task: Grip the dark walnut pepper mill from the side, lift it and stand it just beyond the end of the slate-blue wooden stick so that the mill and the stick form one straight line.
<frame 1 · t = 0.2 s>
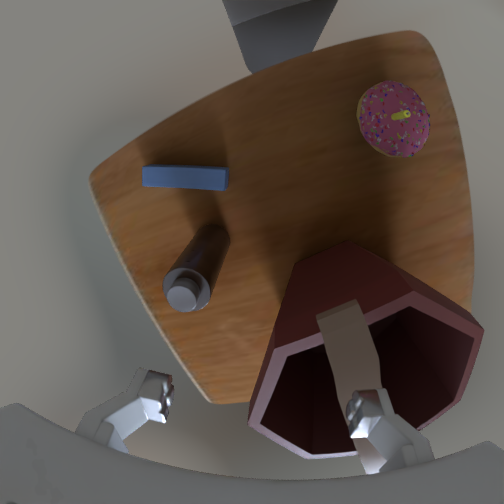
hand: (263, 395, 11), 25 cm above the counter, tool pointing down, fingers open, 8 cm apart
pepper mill: (212, 240, 35), on the counter
bucket: (337, 300, 38), on the counter
cupcake: (380, 121, 28), on the counter
blue stick: (187, 174, 32), on the counter
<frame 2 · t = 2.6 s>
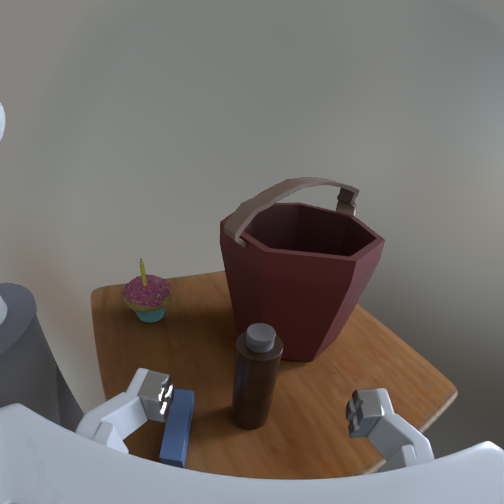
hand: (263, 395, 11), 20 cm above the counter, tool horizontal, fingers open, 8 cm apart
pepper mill: (249, 414, 30), on the counter
bucket: (290, 330, 46), on the counter
cupcake: (150, 315, 47), on the counter
blue stick: (179, 431, 27), on the counter
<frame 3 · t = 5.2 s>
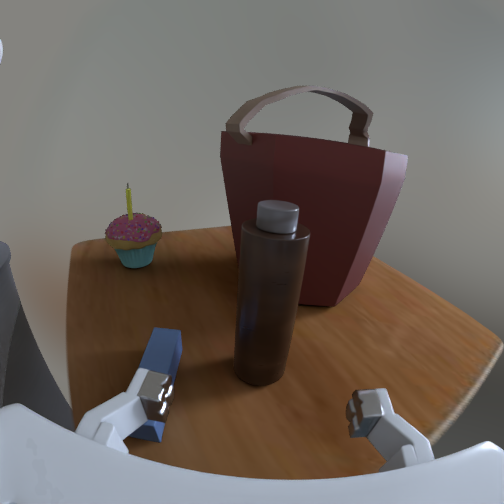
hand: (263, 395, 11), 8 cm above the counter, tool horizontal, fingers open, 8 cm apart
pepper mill: (259, 366, 23), on the counter
bucket: (303, 276, 39), on the counter
cupcake: (136, 262, 39), on the counter
blue stick: (157, 389, 19), on the counter
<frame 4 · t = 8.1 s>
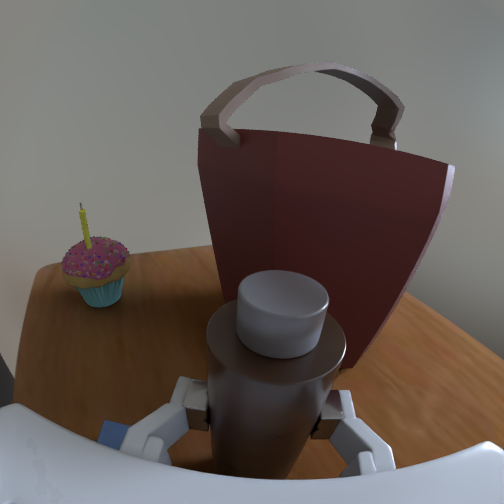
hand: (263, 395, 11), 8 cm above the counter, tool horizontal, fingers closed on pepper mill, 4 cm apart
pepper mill: (249, 473, 13), on the counter, touching gripper
bucket: (311, 319, 30), on the counter
cupcake: (102, 297, 30), on the counter
blue stick: (114, 499, 10), on the counter
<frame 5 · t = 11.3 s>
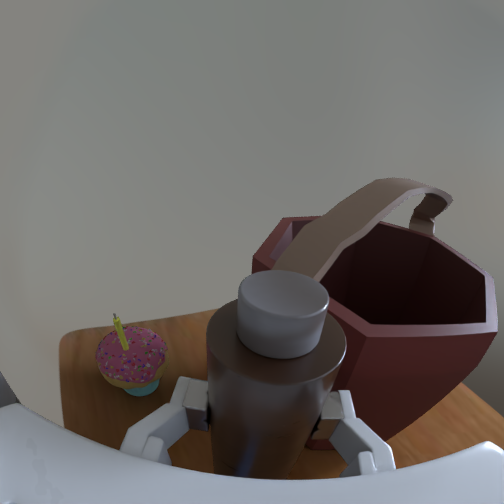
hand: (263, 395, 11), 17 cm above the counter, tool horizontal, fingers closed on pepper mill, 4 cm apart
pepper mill: (249, 474, 13), point 9 cm above the counter, touching gripper
bucket: (342, 398, 29), on the counter
cupcake: (139, 382, 29), on the counter
when the fingers open (8 cm above the counter, at t = 14.9 s): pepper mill stays where it is, on the counter.
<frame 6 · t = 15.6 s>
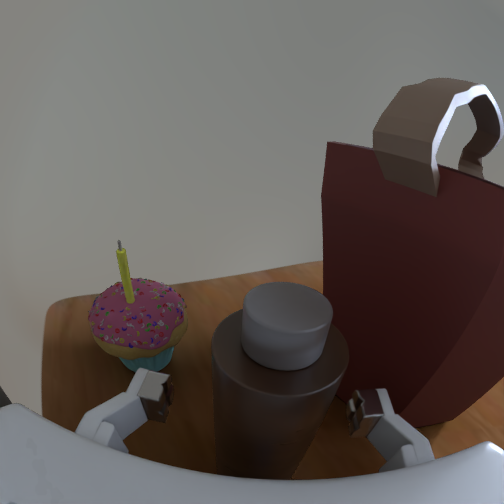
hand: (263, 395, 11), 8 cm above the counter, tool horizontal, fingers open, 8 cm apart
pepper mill: (252, 477, 13), on the counter
bucket: (402, 368, 23), on the counter
cupcake: (145, 356, 23), on the counter
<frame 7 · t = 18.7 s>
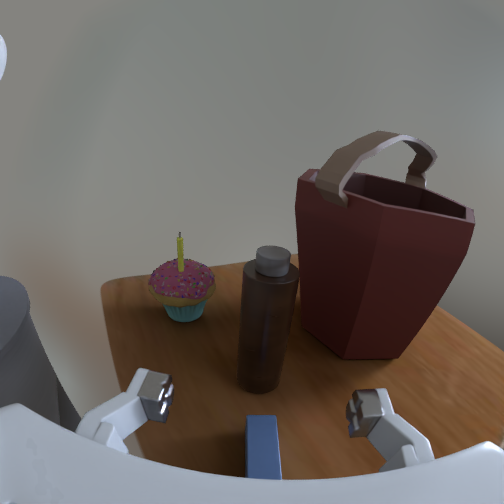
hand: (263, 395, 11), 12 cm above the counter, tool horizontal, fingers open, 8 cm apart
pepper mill: (258, 377, 27), on the counter
bucket: (362, 323, 36), on the counter
cupcake: (184, 312, 36), on the counter
blue stick: (260, 476, 16), on the counter
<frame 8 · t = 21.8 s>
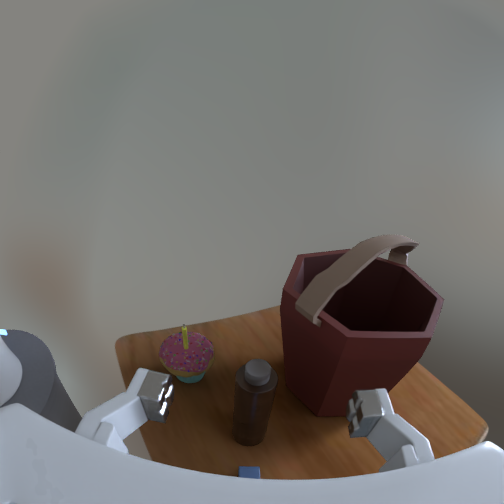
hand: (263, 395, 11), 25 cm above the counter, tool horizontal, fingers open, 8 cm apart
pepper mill: (248, 433, 32), on the counter
bucket: (338, 381, 41), on the counter
cupcake: (189, 373, 42), on the counter
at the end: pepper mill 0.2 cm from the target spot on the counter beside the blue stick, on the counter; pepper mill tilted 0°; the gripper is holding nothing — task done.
